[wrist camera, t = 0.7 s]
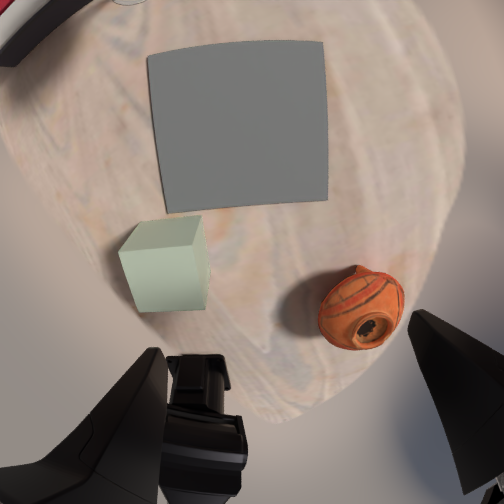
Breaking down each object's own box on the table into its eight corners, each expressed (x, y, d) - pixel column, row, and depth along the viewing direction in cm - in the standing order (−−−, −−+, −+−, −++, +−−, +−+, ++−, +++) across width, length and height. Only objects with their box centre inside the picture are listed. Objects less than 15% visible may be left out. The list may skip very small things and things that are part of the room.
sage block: (210, 270, 23) (205, 309, 19) (154, 274, 23) (138, 312, 19) (201, 214, 21) (192, 245, 17) (140, 221, 21) (118, 252, 16)
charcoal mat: (327, 199, 21) (327, 200, 20) (168, 212, 21) (168, 213, 20) (321, 42, 15) (322, 41, 15) (148, 56, 15) (147, 55, 15)
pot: (327, 338, 28) (337, 382, 21) (301, 274, 26) (307, 310, 19) (396, 309, 26) (422, 345, 19) (379, 241, 24) (409, 266, 18)
